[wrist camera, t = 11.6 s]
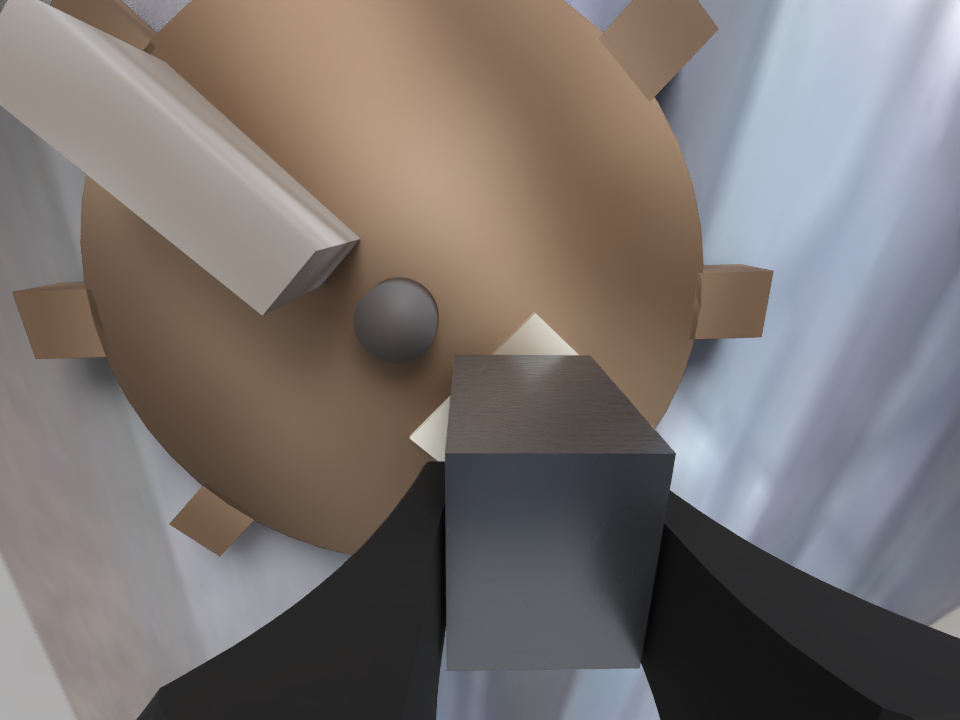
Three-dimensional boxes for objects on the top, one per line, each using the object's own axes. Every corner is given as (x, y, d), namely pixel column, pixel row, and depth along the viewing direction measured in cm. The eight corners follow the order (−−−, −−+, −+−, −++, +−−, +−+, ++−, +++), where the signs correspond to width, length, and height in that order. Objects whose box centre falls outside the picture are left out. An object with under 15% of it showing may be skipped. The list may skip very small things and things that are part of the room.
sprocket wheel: (356, -385, 9) (229, -1058, 4) (869, 290, 14) (1085, 334, 9) (-70, 317, 13) (-375, 378, 8) (434, 652, 18) (422, 813, 13)
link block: (590, 355, 12) (675, 453, 7) (576, 501, 13) (639, 667, 8) (454, 354, 12) (445, 453, 7) (454, 501, 13) (447, 670, 8)
